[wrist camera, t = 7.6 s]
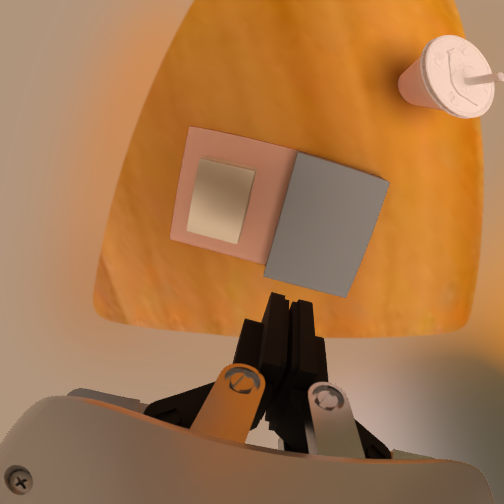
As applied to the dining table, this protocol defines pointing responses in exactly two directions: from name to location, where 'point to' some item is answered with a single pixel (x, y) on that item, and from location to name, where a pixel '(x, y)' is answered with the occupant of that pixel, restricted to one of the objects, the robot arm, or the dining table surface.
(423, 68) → the smoothie
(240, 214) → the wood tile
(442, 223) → the dining table surface
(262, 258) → the mat
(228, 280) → the dining table surface
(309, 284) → the plate
